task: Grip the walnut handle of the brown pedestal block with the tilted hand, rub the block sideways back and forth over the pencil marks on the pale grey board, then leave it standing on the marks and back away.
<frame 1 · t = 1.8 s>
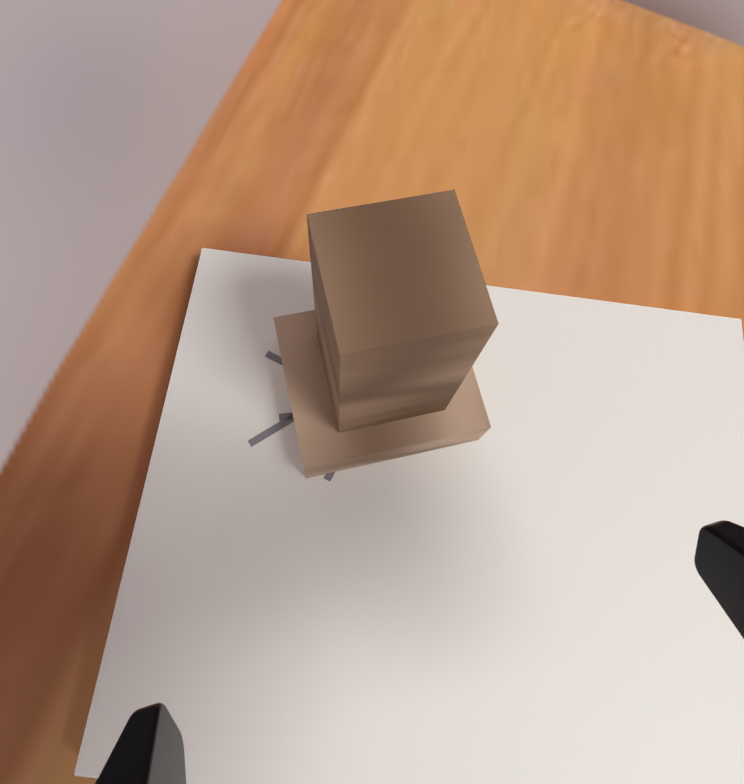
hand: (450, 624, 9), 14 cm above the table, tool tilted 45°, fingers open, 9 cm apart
brown pedestal block: (376, 388, 23), point 2 cm above the table, touching board
board: (450, 516, 24), on the table
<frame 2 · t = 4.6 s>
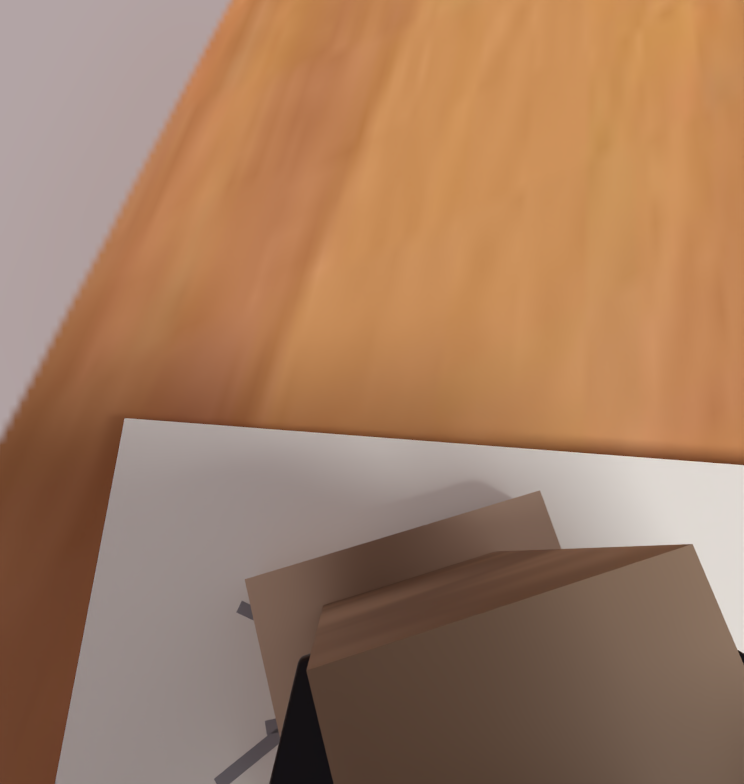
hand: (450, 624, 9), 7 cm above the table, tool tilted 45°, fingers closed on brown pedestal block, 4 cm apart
brown pedestal block: (424, 656, 14), point 2 cm above the table, touching board, gripper
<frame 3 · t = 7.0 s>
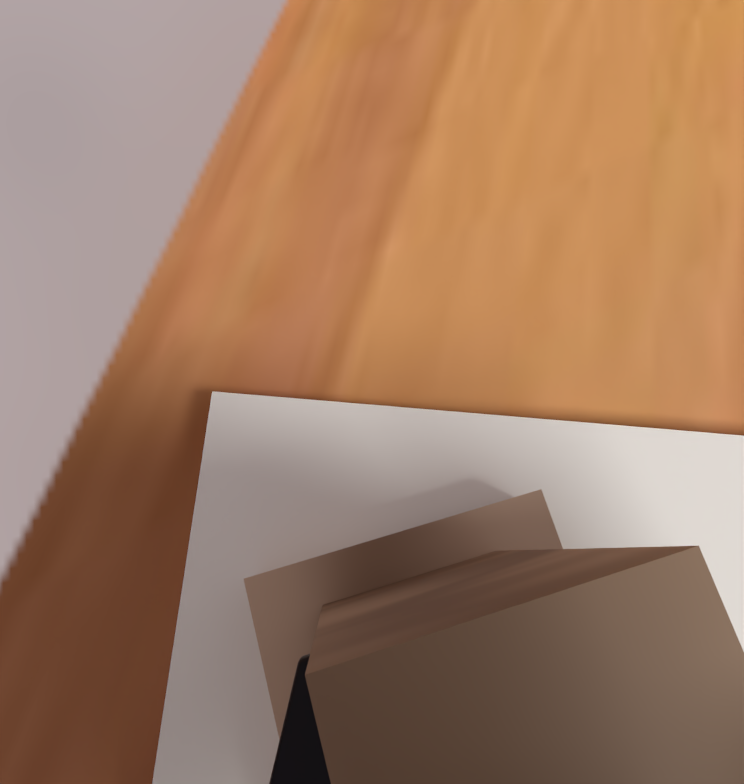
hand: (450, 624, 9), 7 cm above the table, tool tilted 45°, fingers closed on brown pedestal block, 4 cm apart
brown pedestal block: (424, 656, 14), point 2 cm above the table, touching gripper
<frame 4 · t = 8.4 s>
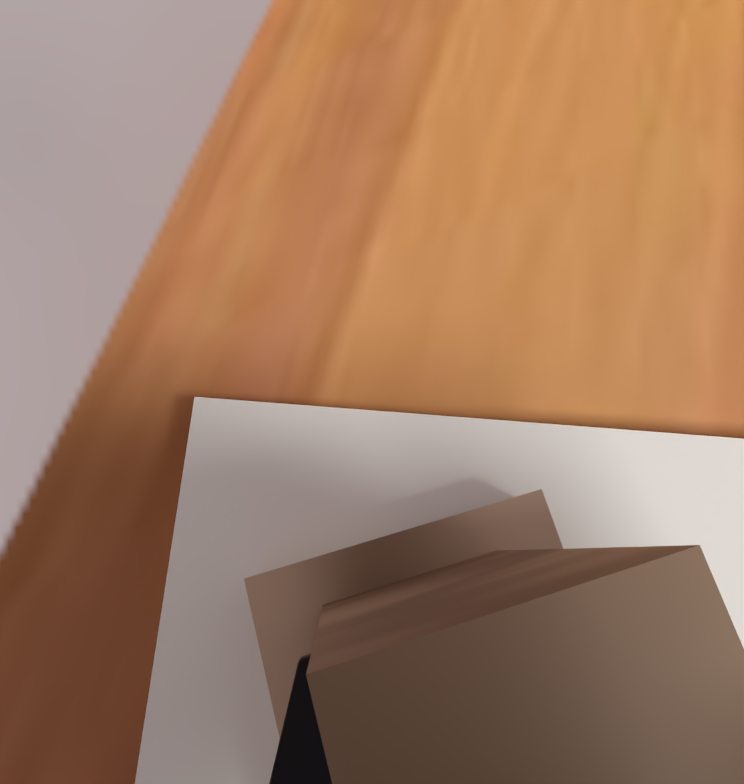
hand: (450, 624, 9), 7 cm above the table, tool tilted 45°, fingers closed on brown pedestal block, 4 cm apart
brown pedestal block: (425, 656, 14), point 2 cm above the table, touching gripper
when the fingers open (7 cm above the table, at t = 9.3 s): brown pedestal block stays where it is, resting on board.
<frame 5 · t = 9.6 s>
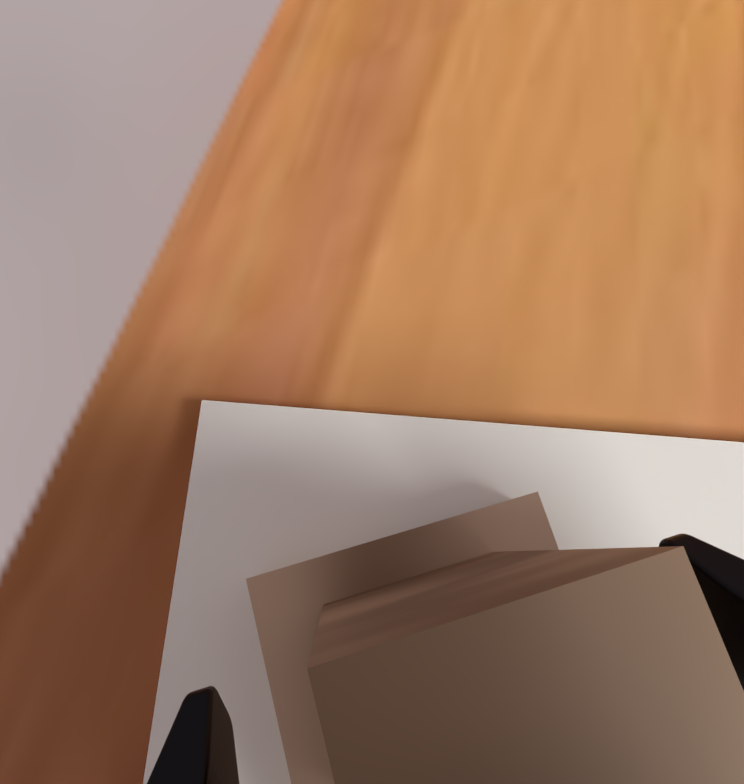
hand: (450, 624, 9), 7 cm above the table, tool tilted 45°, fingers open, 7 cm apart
brown pedestal block: (423, 655, 14), point 2 cm above the table, touching board
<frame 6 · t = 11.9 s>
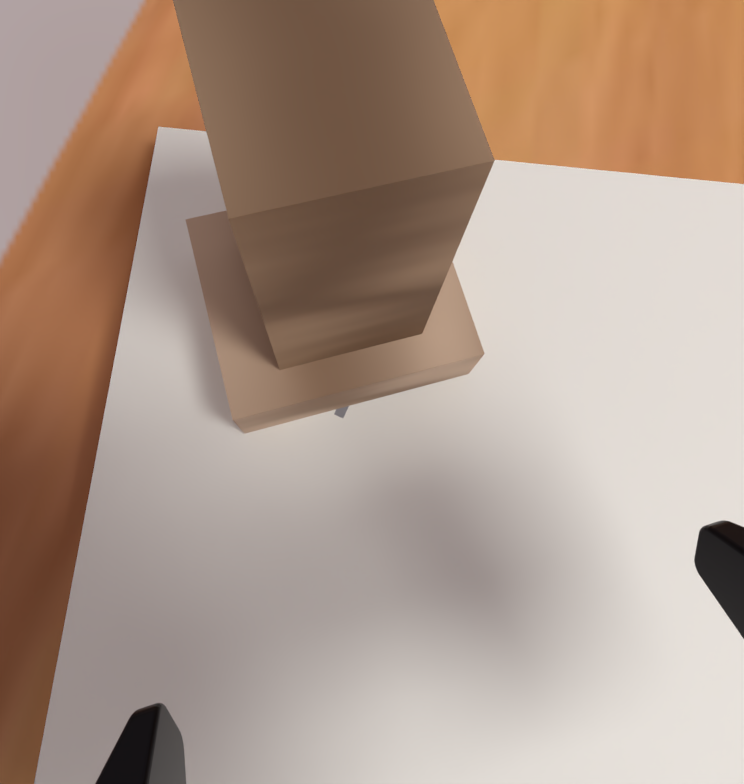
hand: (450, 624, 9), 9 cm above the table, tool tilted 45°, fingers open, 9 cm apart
brown pedestal block: (333, 312, 18), point 2 cm above the table, touching board
board: (496, 457, 19), on the table
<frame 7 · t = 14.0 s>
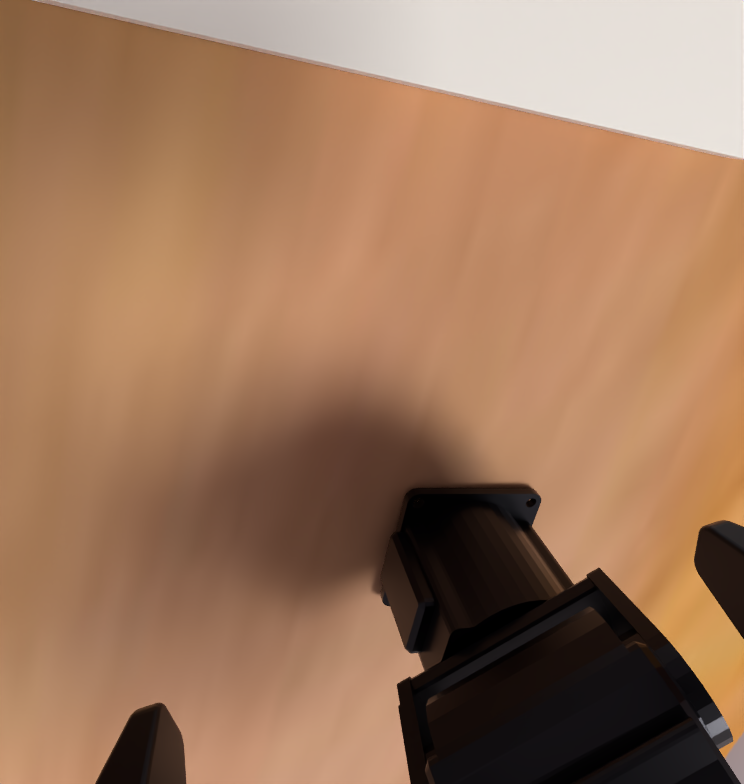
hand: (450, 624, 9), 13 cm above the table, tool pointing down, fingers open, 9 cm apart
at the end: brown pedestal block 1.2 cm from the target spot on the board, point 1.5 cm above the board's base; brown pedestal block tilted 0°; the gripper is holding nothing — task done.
